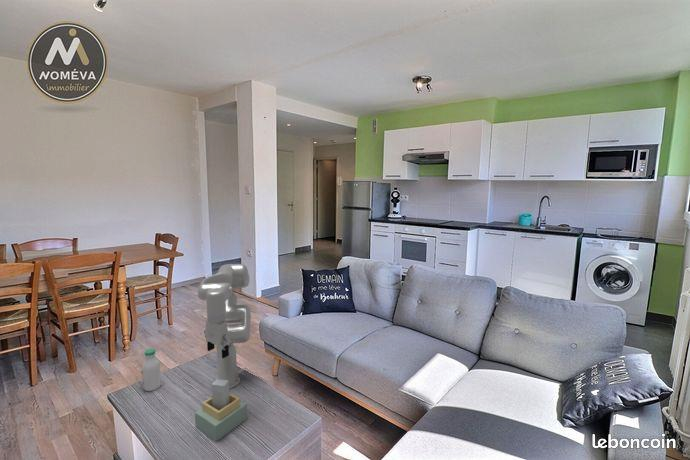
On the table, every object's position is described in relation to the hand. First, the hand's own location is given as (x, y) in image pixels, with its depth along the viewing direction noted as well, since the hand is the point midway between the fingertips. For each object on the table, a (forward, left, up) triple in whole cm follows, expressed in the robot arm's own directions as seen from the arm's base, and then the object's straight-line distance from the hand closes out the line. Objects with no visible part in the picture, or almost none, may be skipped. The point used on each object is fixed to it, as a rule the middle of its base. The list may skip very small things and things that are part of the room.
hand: (218, 353), depth 143 cm
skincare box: (+3, +5, -23) cm, 23 cm away
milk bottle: (+7, -45, -30) cm, 54 cm away
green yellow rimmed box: (+3, +5, -30) cm, 30 cm away
